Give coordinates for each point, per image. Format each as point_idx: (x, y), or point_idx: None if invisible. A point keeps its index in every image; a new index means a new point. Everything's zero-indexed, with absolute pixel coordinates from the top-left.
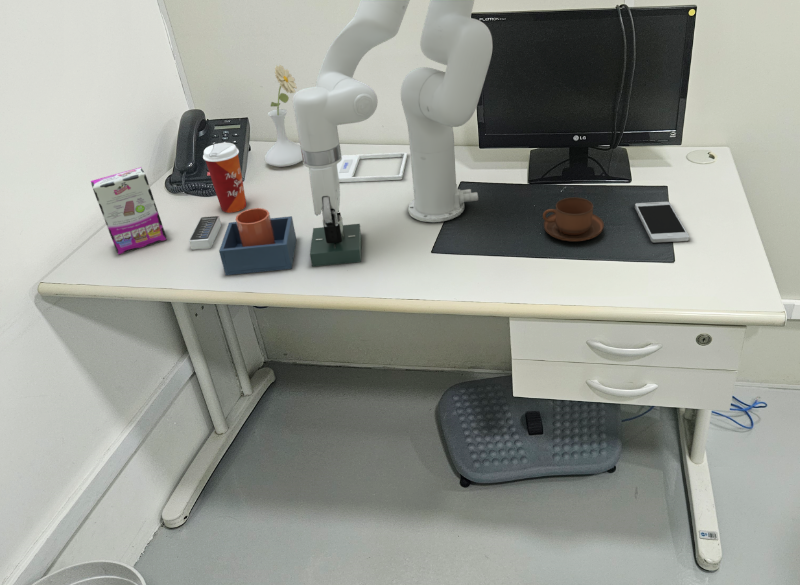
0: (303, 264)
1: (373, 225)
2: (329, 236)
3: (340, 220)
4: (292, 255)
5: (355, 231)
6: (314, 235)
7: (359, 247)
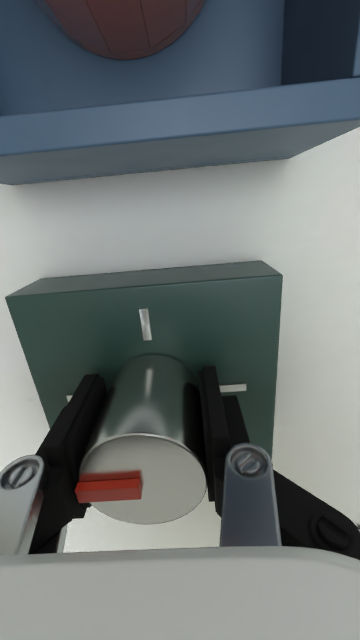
0: (57, 236)
1: (319, 448)
2: (57, 421)
3: (121, 520)
4: (90, 174)
5: None
6: (196, 293)
7: None
